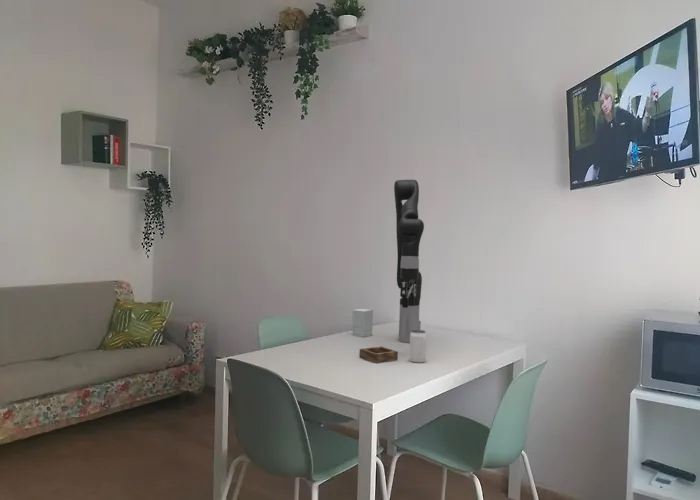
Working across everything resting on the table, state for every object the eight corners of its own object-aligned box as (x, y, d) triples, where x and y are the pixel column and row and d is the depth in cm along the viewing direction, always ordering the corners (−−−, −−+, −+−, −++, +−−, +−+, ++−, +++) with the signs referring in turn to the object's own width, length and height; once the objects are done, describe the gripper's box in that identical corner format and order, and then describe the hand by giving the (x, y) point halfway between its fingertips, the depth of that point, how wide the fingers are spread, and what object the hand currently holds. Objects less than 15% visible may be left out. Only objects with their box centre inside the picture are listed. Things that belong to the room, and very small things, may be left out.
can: (415, 363, 218) (416, 333, 218) (406, 359, 224) (407, 330, 224) (428, 362, 221) (429, 332, 221) (419, 358, 227) (420, 329, 227)
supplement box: (372, 335, 274) (373, 309, 273) (363, 337, 268) (364, 311, 268) (361, 333, 279) (361, 308, 278) (351, 335, 273) (352, 309, 273)
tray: (381, 354, 232) (381, 346, 232) (397, 360, 223) (397, 351, 223) (359, 357, 226) (359, 348, 226) (375, 363, 217) (375, 354, 217)
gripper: (406, 266, 238) (405, 304, 238) (395, 267, 225) (393, 307, 225) (423, 267, 235) (422, 306, 235) (413, 267, 222) (411, 308, 222)
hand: (408, 306), depth 230 cm, fingers open, 8 cm apart
